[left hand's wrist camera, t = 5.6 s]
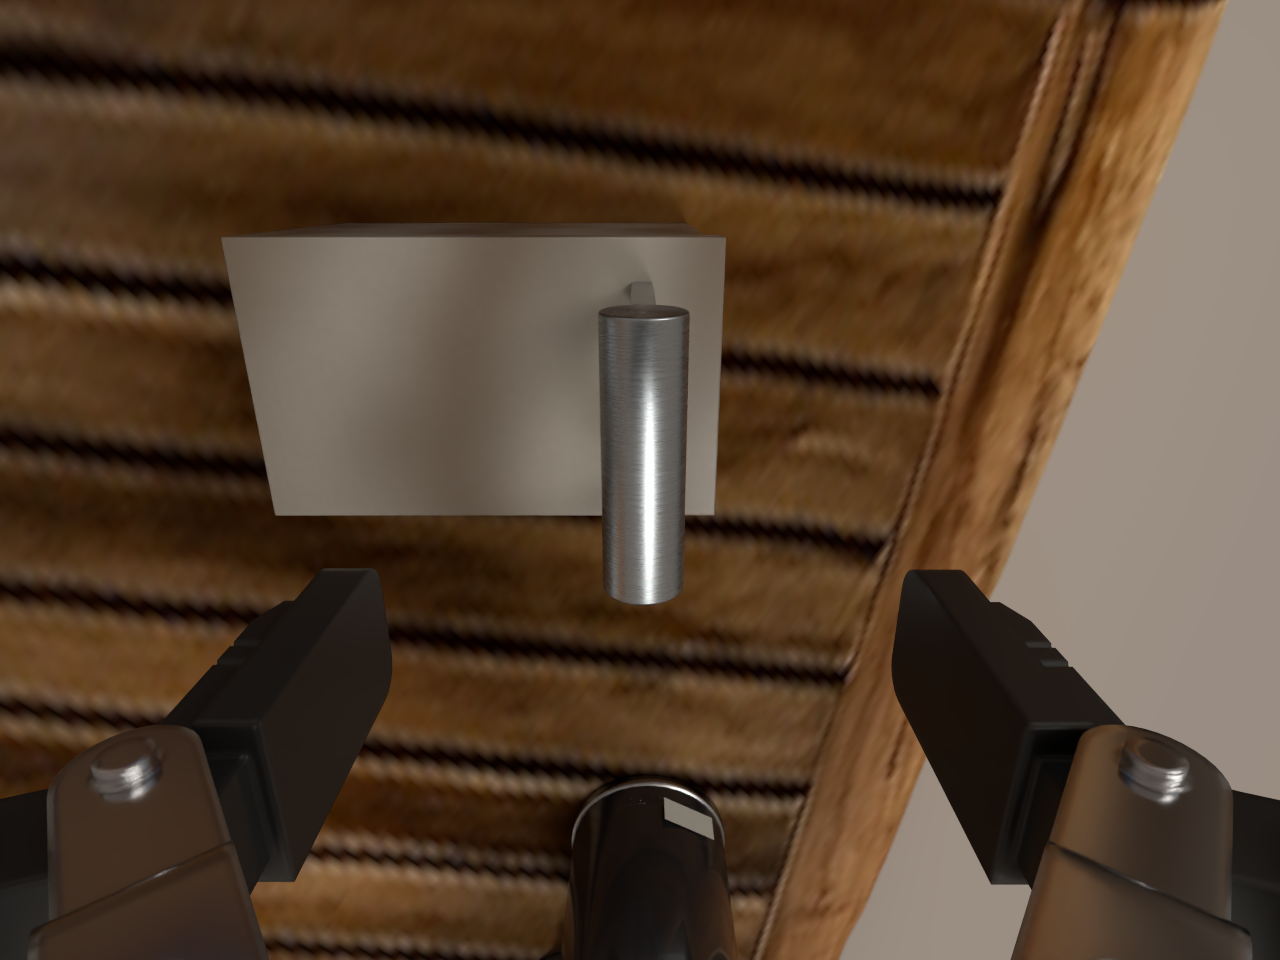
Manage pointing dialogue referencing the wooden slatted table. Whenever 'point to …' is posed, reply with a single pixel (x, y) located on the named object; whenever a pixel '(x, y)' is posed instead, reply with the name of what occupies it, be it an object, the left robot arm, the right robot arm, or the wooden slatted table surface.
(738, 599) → the wooden slatted table surface
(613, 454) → the grey piece
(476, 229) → the chest
